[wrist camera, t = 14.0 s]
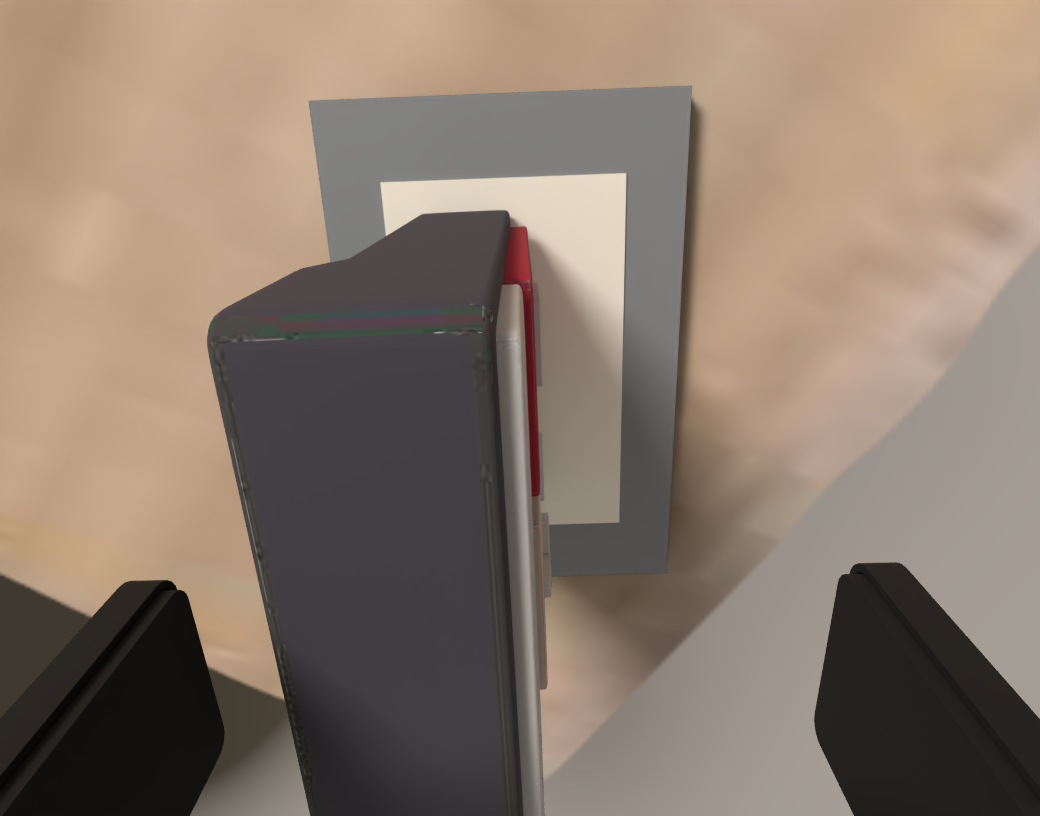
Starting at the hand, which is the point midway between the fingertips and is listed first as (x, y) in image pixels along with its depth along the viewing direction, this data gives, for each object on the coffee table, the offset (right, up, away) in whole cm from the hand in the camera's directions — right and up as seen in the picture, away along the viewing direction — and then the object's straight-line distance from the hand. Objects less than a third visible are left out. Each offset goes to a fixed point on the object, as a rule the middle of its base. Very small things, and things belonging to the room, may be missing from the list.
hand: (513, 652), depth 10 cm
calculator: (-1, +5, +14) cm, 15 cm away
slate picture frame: (0, +5, +15) cm, 16 cm away
